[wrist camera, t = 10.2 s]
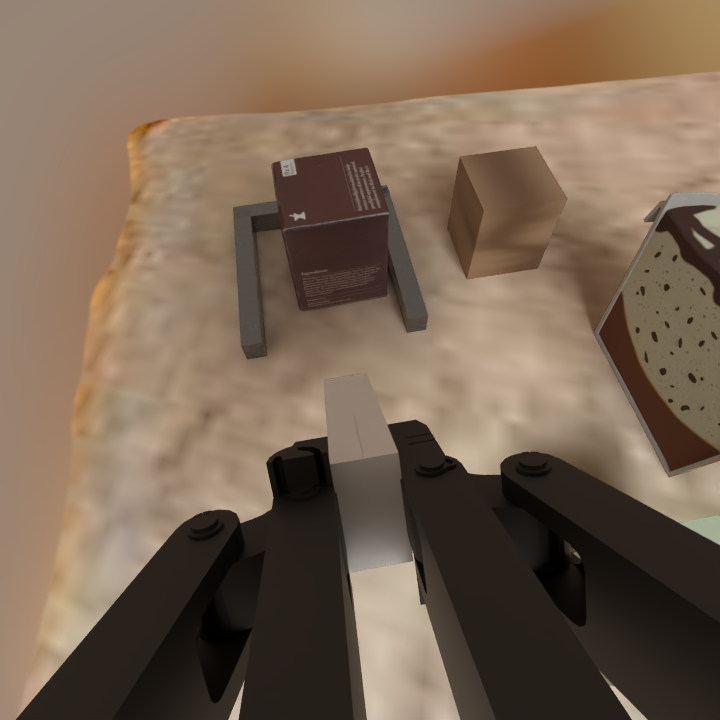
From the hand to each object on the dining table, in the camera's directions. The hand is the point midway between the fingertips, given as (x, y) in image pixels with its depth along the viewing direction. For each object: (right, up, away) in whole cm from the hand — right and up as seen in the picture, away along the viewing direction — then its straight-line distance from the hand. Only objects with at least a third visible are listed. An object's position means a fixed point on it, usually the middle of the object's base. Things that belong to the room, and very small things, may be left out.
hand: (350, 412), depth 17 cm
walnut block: (+10, +10, +17) cm, 22 cm away
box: (-1, +8, +17) cm, 18 cm away
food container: (+19, 0, +11) cm, 22 cm away
